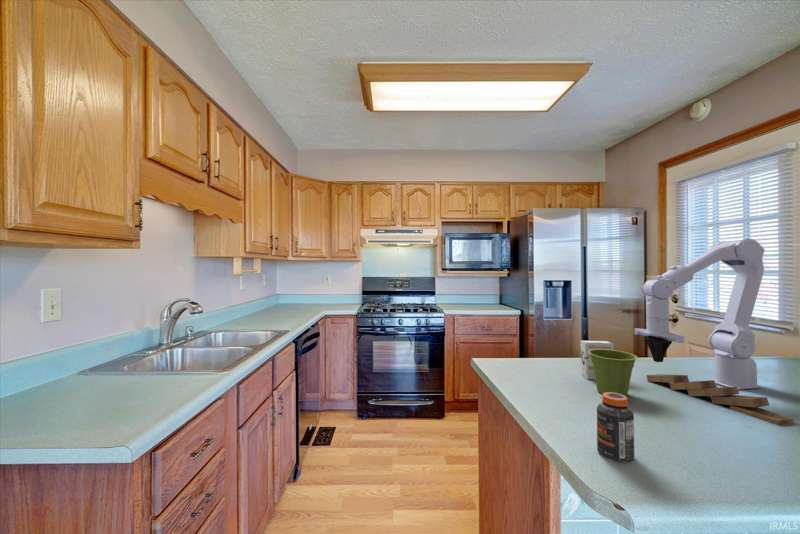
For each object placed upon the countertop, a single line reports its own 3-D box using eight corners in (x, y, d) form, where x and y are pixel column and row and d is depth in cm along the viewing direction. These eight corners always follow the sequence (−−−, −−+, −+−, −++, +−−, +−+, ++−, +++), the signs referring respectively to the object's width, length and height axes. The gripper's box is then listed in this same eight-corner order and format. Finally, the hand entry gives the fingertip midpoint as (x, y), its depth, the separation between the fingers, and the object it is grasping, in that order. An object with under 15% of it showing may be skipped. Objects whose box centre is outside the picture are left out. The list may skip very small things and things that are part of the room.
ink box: (608, 376, 111) (608, 340, 111) (615, 380, 106) (614, 343, 106) (580, 374, 112) (580, 339, 112) (586, 379, 107) (585, 342, 108)
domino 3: (700, 387, 94) (736, 386, 86) (703, 394, 94) (739, 394, 86) (686, 389, 93) (721, 388, 85) (689, 396, 93) (724, 395, 85)
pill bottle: (590, 447, 66) (589, 390, 66) (618, 446, 66) (617, 389, 66) (611, 465, 60) (611, 401, 60) (642, 463, 60) (641, 400, 60)
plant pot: (592, 398, 92) (591, 356, 92) (585, 384, 103) (585, 347, 103) (643, 404, 87) (643, 361, 87) (631, 389, 98) (631, 350, 98)
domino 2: (683, 382, 99) (714, 380, 91) (685, 388, 99) (717, 387, 90) (669, 383, 98) (699, 381, 90) (671, 389, 98) (701, 388, 89)
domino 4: (723, 394, 89) (767, 397, 81) (725, 401, 89) (769, 405, 80) (710, 395, 88) (753, 399, 80) (712, 403, 87) (755, 407, 79)
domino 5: (744, 403, 85) (793, 418, 76) (744, 410, 85) (793, 426, 76) (730, 405, 84) (778, 420, 75) (730, 412, 84) (778, 428, 75)
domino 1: (659, 374, 107) (687, 375, 98) (661, 380, 106) (689, 381, 98) (646, 375, 106) (673, 376, 97) (647, 381, 105) (674, 382, 97)
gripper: (626, 315, 111) (627, 356, 111) (670, 321, 97) (671, 368, 97) (644, 314, 112) (644, 355, 112) (689, 321, 98) (690, 367, 98)
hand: (658, 361), depth 104 cm, fingers closed
